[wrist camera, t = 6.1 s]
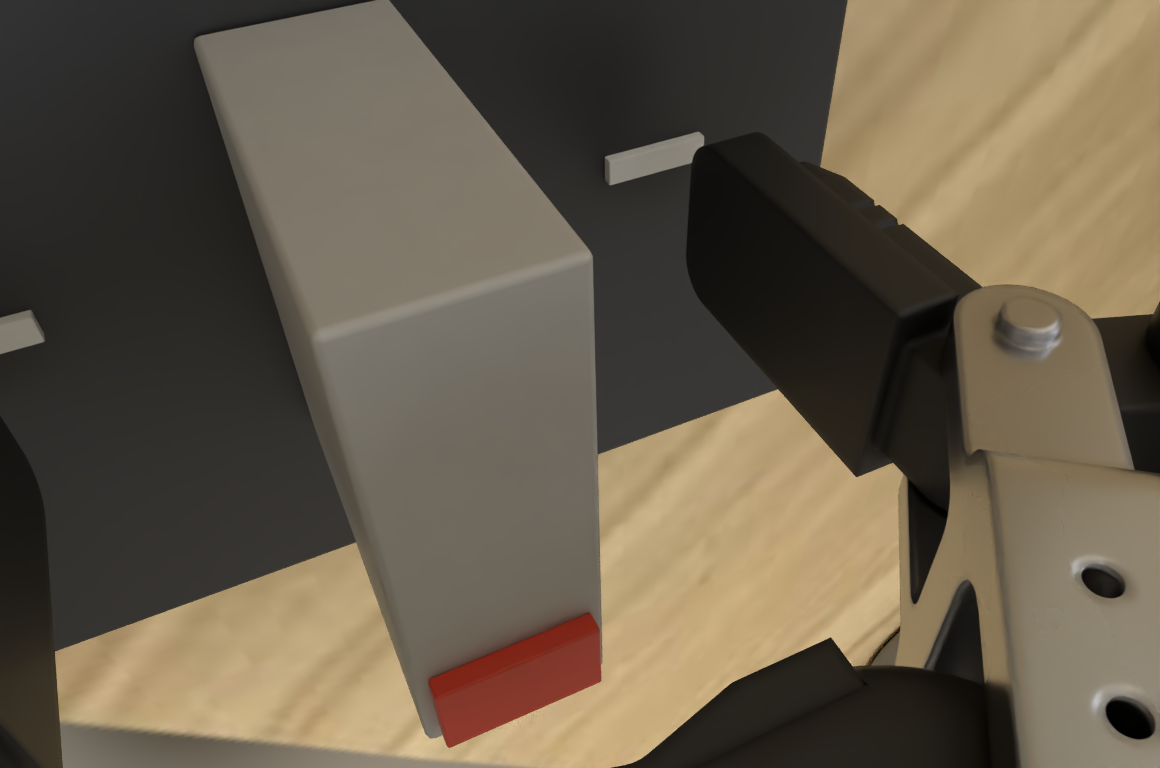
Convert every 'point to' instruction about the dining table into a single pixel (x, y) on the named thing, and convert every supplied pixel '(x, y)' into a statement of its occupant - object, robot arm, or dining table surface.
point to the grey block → (428, 351)
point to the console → (241, 289)
